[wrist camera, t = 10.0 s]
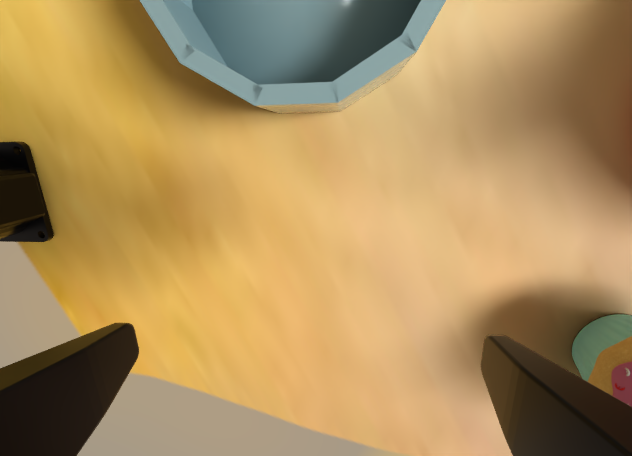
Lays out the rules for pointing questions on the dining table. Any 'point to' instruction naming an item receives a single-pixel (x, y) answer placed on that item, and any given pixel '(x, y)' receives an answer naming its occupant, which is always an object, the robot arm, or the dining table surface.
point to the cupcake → (606, 355)
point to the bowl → (295, 46)
